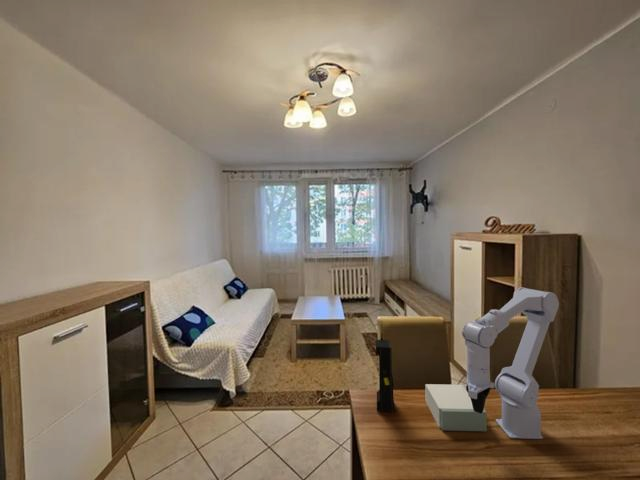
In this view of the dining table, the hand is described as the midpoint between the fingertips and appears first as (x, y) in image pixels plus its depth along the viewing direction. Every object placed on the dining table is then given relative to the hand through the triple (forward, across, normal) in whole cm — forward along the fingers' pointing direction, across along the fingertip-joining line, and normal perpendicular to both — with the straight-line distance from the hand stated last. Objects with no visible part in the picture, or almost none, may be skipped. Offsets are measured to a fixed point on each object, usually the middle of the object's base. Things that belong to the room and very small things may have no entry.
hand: (478, 411), depth 81 cm
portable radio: (+10, -2, +29) cm, 30 cm away
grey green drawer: (+9, +8, +8) cm, 15 cm away
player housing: (+9, +9, +9) cm, 16 cm away
